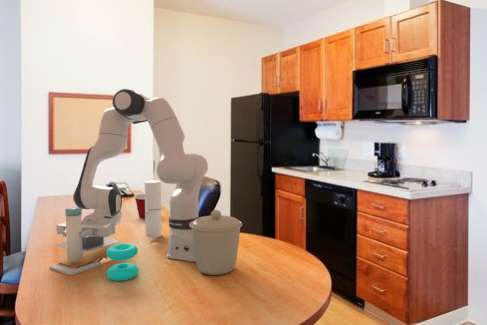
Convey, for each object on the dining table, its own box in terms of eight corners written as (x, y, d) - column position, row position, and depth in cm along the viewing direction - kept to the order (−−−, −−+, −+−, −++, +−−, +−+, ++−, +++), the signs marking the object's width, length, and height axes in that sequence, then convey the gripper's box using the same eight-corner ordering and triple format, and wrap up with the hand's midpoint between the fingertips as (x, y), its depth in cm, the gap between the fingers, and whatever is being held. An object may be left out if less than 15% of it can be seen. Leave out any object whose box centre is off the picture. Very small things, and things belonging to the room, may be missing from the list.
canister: (215, 257, 141) (215, 202, 139) (252, 268, 130) (252, 209, 128) (179, 271, 127) (178, 210, 125) (217, 285, 116) (217, 219, 114)
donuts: (143, 247, 122) (114, 254, 115) (144, 276, 122) (115, 285, 116) (129, 240, 129) (100, 246, 122) (129, 268, 130) (101, 276, 123)
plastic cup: (142, 220, 199) (142, 198, 198) (130, 217, 205) (129, 195, 204) (158, 216, 208) (158, 195, 207) (146, 213, 214) (145, 193, 213)
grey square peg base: (121, 244, 157) (120, 231, 156) (83, 256, 141) (82, 242, 141) (93, 237, 166) (93, 225, 165) (55, 248, 151) (55, 235, 150)
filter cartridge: (86, 258, 132) (84, 208, 130) (72, 262, 127) (71, 211, 126) (77, 255, 134) (75, 206, 133) (63, 259, 130) (62, 209, 128)
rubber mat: (101, 264, 133) (101, 262, 133) (70, 275, 123) (70, 273, 123) (80, 258, 139) (80, 256, 139) (49, 268, 129) (49, 266, 129)
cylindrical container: (157, 238, 166) (156, 183, 164) (142, 237, 167) (141, 182, 165) (164, 233, 173) (163, 180, 171) (149, 232, 174) (148, 180, 172)
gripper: (69, 215, 144) (45, 224, 130) (118, 217, 141) (99, 227, 127) (69, 231, 144) (46, 242, 131) (118, 234, 141) (99, 245, 128)
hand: (72, 234), depth 129 cm, fingers closed on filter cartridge, 5 cm apart
